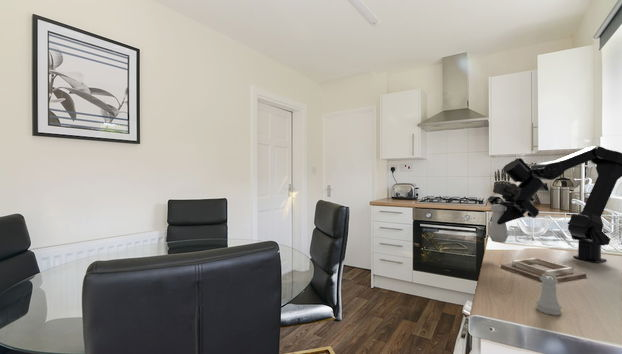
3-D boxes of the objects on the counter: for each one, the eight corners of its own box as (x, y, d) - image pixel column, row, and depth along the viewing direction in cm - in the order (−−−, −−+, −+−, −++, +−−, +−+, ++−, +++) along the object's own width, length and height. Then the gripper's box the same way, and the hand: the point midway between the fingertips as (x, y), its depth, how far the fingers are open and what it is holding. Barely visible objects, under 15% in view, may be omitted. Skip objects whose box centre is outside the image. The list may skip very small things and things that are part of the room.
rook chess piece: (530, 306, 65) (531, 272, 65) (548, 306, 66) (548, 271, 65) (548, 316, 61) (548, 279, 61) (567, 315, 61) (568, 279, 61)
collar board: (536, 262, 97) (536, 255, 97) (586, 277, 83) (586, 268, 83) (501, 267, 92) (501, 259, 92) (548, 283, 79) (548, 274, 79)
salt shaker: (501, 239, 103) (501, 203, 103) (512, 243, 97) (512, 205, 97) (485, 239, 103) (485, 203, 103) (494, 243, 97) (494, 205, 97)
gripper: (492, 175, 109) (463, 204, 109) (529, 175, 91) (495, 210, 91) (512, 195, 109) (484, 224, 109) (554, 199, 91) (520, 234, 91)
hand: (494, 222), depth 100 cm, fingers closed on salt shaker, 3 cm apart
